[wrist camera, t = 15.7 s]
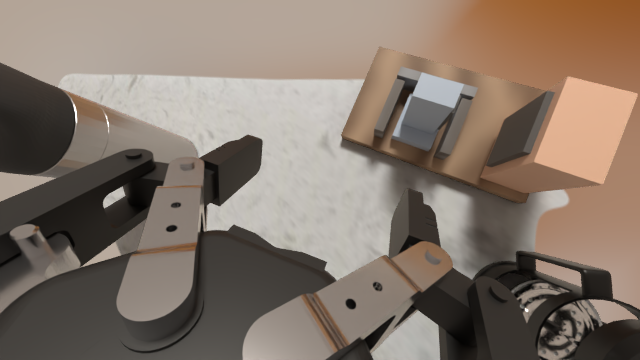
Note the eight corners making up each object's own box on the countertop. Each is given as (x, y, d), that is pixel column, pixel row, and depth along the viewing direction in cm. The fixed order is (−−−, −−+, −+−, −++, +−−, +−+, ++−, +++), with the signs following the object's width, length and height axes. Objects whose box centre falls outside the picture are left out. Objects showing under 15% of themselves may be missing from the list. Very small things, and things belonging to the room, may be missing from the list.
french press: (559, 356, 27) (1400, 997, 5) (468, 342, 29) (789, 762, 7) (554, 250, 29) (1198, 389, 6) (467, 243, 31) (733, 332, 8)
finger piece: (391, 138, 33) (400, 110, 24) (408, 98, 33) (423, 55, 24) (427, 151, 32) (452, 127, 22) (445, 110, 32) (476, 69, 23)
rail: (342, 138, 36) (338, 127, 31) (379, 53, 36) (380, 31, 32) (517, 203, 30) (543, 201, 26) (558, 102, 31) (589, 84, 26)
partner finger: (475, 175, 30) (525, 159, 20) (498, 117, 30) (560, 74, 21) (523, 193, 29) (602, 184, 19) (548, 132, 29) (638, 93, 19)
